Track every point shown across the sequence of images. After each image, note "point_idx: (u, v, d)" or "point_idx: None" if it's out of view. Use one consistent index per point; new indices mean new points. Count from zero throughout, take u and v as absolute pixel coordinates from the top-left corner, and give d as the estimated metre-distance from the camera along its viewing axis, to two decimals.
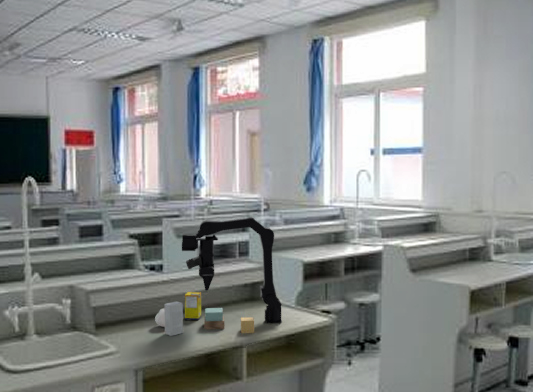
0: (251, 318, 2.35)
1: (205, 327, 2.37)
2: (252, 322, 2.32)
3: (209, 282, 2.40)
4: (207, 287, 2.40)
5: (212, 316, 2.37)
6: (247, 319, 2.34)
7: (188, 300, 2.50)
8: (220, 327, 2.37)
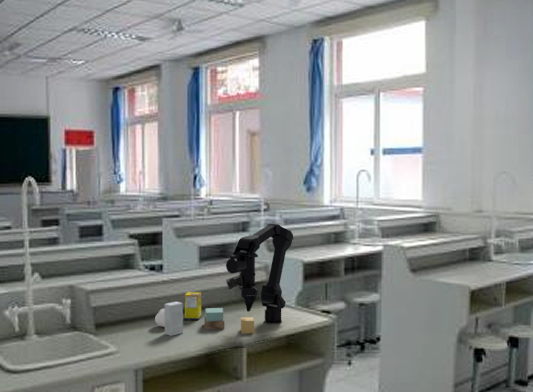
0: (251, 318, 2.35)
1: (205, 327, 2.36)
2: (252, 322, 2.32)
3: (251, 303, 2.28)
4: (249, 308, 2.29)
5: (213, 316, 2.37)
6: (247, 319, 2.34)
7: (187, 300, 2.50)
8: (220, 327, 2.37)
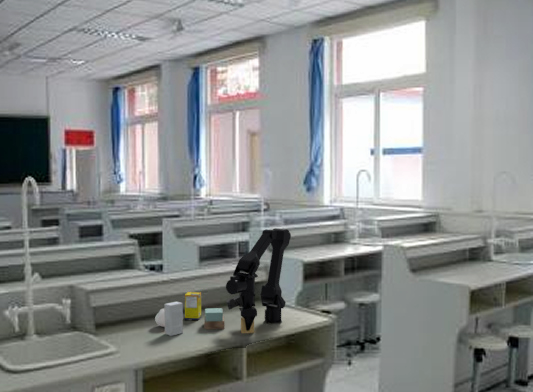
0: None
1: (205, 327, 2.37)
2: None
3: (251, 322, 2.30)
4: (248, 327, 2.31)
5: (212, 316, 2.37)
6: None
7: (188, 300, 2.50)
8: (220, 327, 2.37)
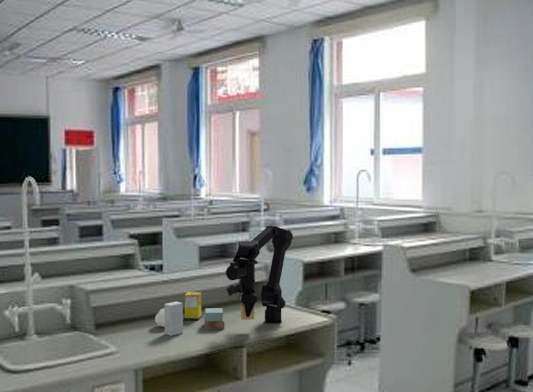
0: None
1: (205, 327, 2.37)
2: None
3: (250, 308, 2.30)
4: (248, 314, 2.30)
5: (212, 316, 2.37)
6: None
7: (187, 300, 2.50)
8: (220, 327, 2.37)
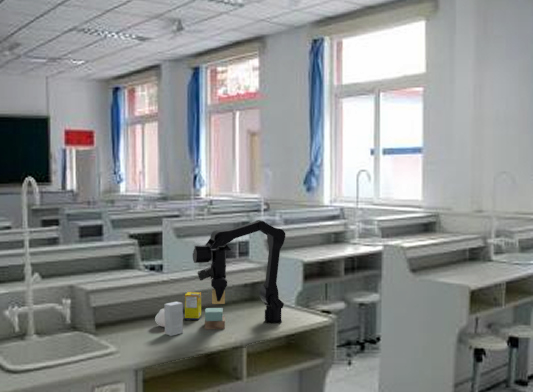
0: None
1: (205, 327, 2.37)
2: (223, 293, 2.37)
3: (221, 293, 2.35)
4: (219, 298, 2.36)
5: (212, 316, 2.37)
6: None
7: (188, 300, 2.50)
8: (221, 327, 2.37)
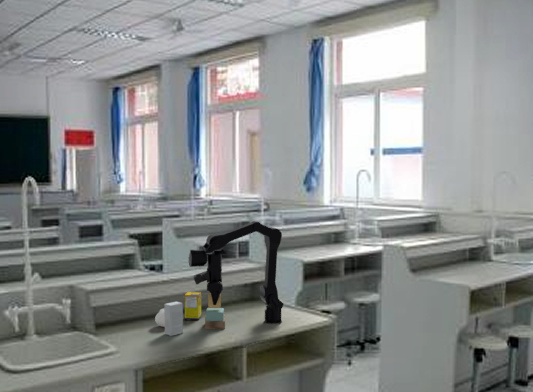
0: None
1: (206, 327, 2.37)
2: (219, 297, 2.38)
3: (217, 297, 2.36)
4: (215, 302, 2.37)
5: (213, 316, 2.37)
6: None
7: (188, 300, 2.50)
8: (221, 327, 2.37)
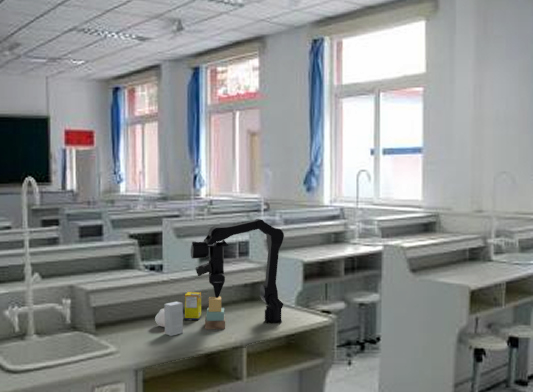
0: (219, 297, 2.41)
1: (206, 327, 2.37)
2: (219, 301, 2.38)
3: (219, 289, 2.35)
4: (217, 294, 2.36)
5: (213, 316, 2.37)
6: (215, 298, 2.40)
7: (188, 300, 2.50)
8: (221, 327, 2.37)
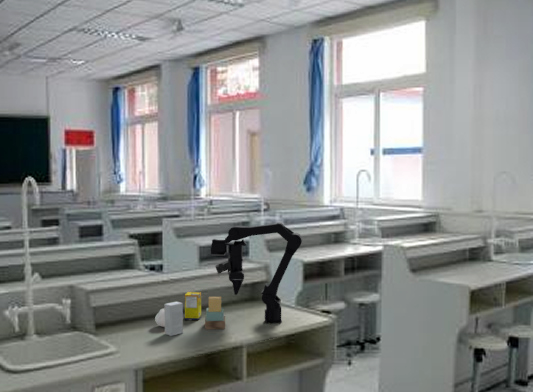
0: (219, 297, 2.41)
1: (206, 327, 2.37)
2: (219, 301, 2.38)
3: (238, 286, 2.44)
4: (236, 291, 2.45)
5: (213, 316, 2.37)
6: (215, 298, 2.40)
7: (187, 300, 2.50)
8: (221, 327, 2.37)
